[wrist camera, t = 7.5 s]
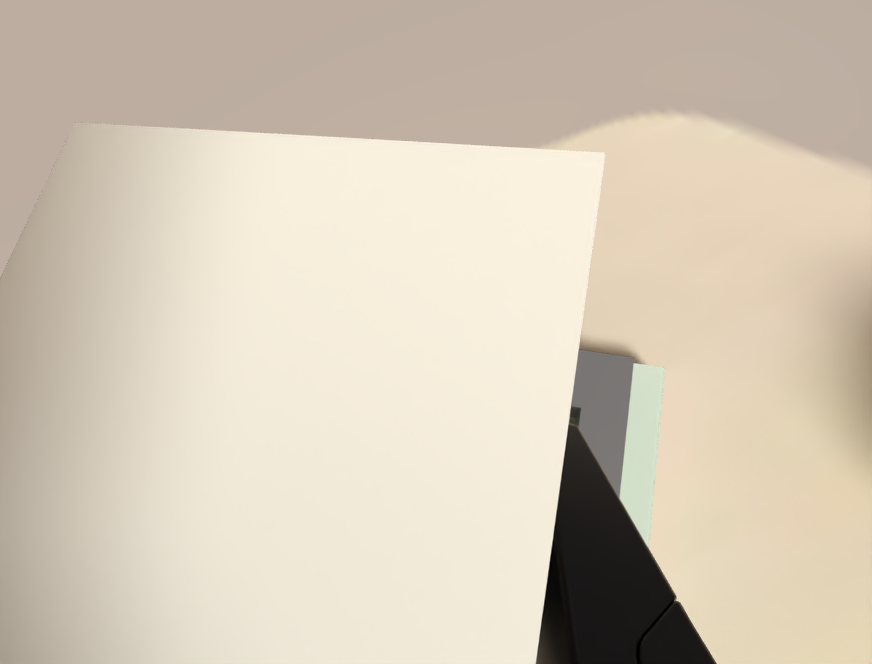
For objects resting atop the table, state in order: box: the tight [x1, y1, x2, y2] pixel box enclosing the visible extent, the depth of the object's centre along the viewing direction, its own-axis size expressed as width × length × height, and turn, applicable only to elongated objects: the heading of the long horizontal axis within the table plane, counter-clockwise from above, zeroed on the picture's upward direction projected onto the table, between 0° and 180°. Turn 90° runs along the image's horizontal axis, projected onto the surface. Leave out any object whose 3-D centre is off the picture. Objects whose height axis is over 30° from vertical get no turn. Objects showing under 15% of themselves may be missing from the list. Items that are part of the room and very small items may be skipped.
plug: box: [0, 122, 606, 664], centre depth 9 cm, size 6×4×13 cm, turn 168°
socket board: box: [569, 350, 665, 548], centre depth 19 cm, size 12×12×4 cm
